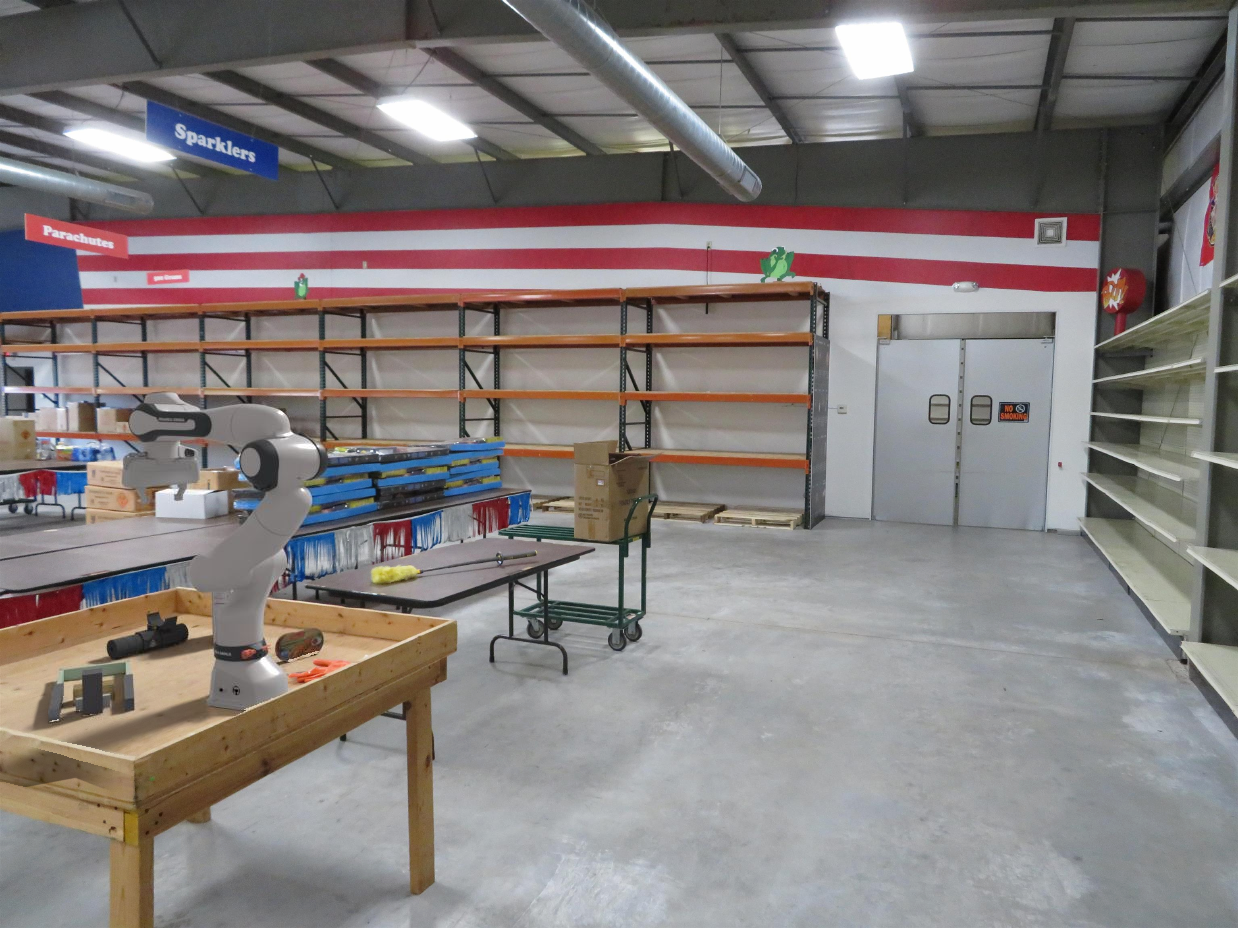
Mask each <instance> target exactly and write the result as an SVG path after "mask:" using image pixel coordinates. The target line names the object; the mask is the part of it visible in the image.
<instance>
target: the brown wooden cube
mask: <svg viewBox="0 0 1238 928" xmlns="http://www.w3.org/2000/svg"><path fill="white" fill-rule="evenodd" d="M114 685H115V684H114V679H108V680H103V694H110V701H111V700H115V699H114V698H115V686H114Z"/></svg>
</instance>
